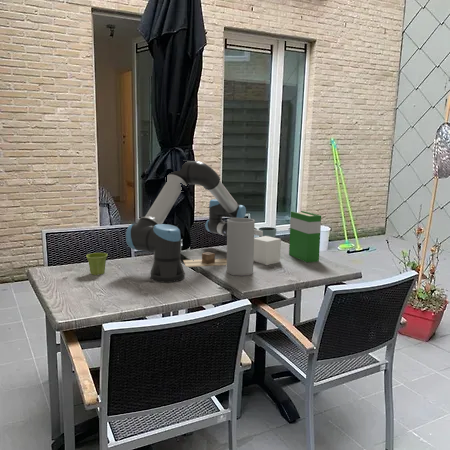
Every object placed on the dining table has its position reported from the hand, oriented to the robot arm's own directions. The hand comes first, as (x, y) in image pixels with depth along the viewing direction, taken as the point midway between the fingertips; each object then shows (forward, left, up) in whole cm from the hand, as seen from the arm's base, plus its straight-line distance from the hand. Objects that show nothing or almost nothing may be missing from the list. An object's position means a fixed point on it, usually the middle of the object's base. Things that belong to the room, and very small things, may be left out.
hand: (253, 235), depth 239 cm
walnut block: (-9, +26, -11) cm, 29 cm away
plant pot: (-19, +79, -12) cm, 82 cm away
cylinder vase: (-27, +14, -12) cm, 33 cm away
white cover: (-9, -4, -12) cm, 16 cm away
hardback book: (-4, -27, -12) cm, 30 cm away
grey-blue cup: (+19, -13, -12) cm, 26 cm away
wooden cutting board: (-9, +26, -12) cm, 30 cm away
